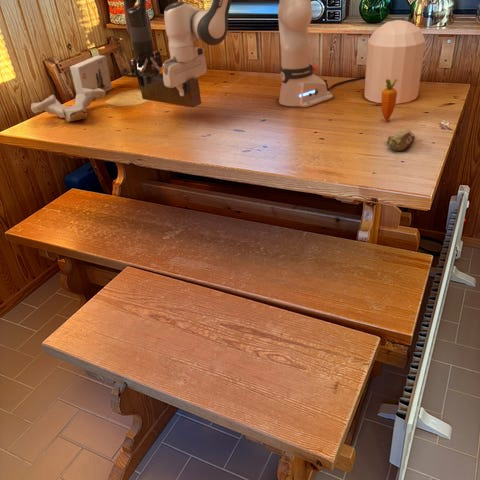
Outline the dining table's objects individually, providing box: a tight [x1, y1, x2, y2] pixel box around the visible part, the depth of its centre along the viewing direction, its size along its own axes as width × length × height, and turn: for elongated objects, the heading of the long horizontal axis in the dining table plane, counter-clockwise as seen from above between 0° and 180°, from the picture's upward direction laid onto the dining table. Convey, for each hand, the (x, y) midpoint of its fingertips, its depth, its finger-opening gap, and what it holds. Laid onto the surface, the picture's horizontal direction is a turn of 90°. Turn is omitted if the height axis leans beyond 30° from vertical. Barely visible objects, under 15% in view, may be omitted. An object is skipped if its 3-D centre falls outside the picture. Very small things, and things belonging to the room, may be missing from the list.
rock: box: [387, 129, 416, 152], centre depth 146 cm, size 11×6×10 cm
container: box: [363, 19, 426, 105], centre depth 179 cm, size 21×21×28 cm
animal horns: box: [30, 88, 107, 123], centre depth 195 cm, size 28×26×12 cm
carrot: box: [380, 79, 397, 122], centre depth 161 cm, size 5×5×15 cm
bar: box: [139, 72, 202, 109], centre depth 176 cm, size 27×5×9 cm, turn 54°
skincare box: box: [69, 54, 113, 95], centre depth 218 cm, size 21×6×16 cm, turn 158°
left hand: (150, 83), depth 180 cm, fingers open, 8 cm apart
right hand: (188, 92), depth 171 cm, fingers closed on bar, 5 cm apart
